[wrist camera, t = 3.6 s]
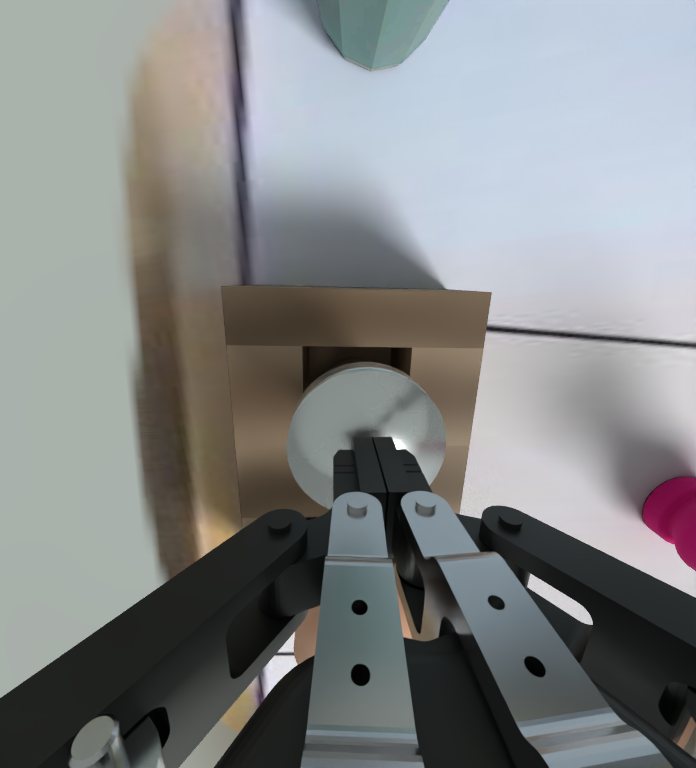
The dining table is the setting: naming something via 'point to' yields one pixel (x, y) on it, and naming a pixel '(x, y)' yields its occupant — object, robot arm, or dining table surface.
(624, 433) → the dining table surface
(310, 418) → the steel plunger
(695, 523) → the pepper mill
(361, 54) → the disposable coffee cup
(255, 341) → the button panel
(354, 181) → the dining table surface
